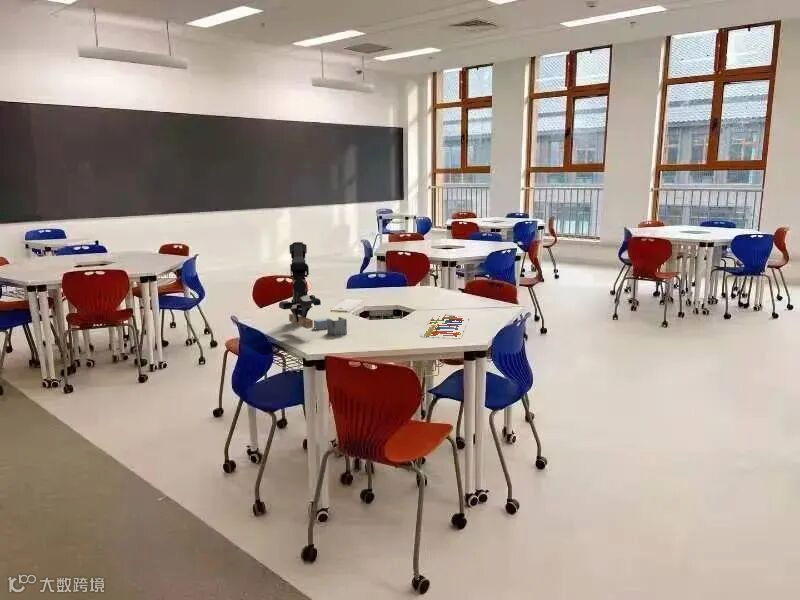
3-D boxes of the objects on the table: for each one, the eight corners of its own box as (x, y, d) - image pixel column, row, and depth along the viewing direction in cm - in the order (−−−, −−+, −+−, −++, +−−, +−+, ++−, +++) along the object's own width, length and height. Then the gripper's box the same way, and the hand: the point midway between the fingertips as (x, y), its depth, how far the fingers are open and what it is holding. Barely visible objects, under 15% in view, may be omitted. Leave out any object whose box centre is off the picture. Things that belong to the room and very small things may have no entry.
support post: (314, 328, 292) (313, 320, 291) (328, 325, 297) (328, 317, 296) (317, 329, 289) (317, 321, 288) (332, 327, 293) (332, 319, 293)
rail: (289, 321, 284) (289, 314, 284) (295, 320, 286) (294, 313, 285) (306, 328, 270) (306, 321, 269) (312, 327, 272) (312, 320, 271)
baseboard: (365, 302, 357) (346, 301, 359) (365, 297, 356) (346, 296, 358) (351, 313, 327) (330, 312, 329) (351, 308, 326) (330, 307, 329)
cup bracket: (327, 333, 282) (327, 318, 281) (340, 331, 286) (340, 317, 284) (333, 336, 277) (333, 321, 276) (346, 333, 281) (346, 319, 280)
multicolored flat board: (434, 312, 318) (470, 313, 314) (434, 316, 319) (470, 318, 315) (418, 332, 275) (460, 335, 271) (418, 338, 276) (460, 340, 272)
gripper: (288, 293, 263) (289, 327, 266) (325, 288, 273) (326, 322, 276) (277, 289, 272) (279, 322, 275) (314, 285, 282) (315, 317, 285)
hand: (300, 321), depth 278 cm, fingers closed on rail, 3 cm apart
